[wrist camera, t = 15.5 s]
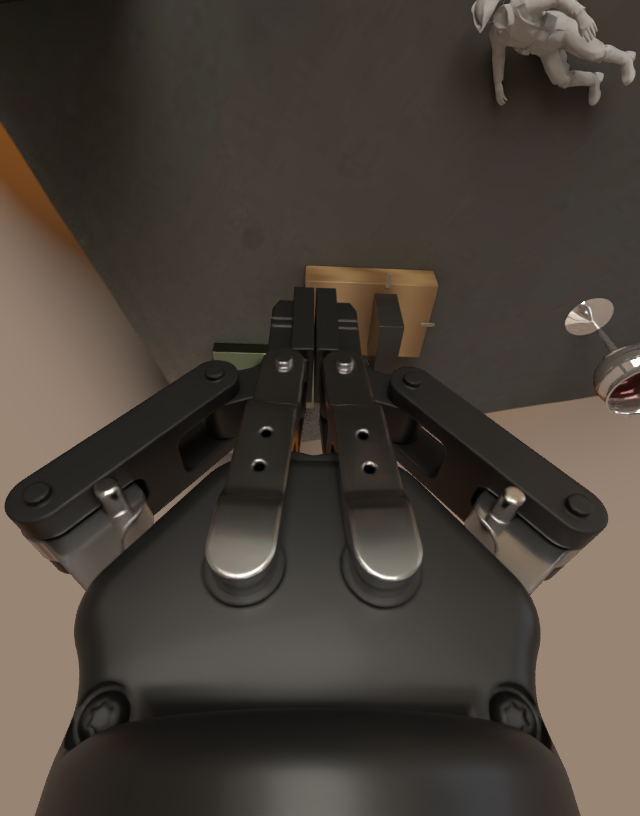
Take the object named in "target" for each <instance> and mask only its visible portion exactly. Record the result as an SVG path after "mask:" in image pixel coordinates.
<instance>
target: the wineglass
mask: <svg viewBox="0 0 640 816" xmlns="http://www.w3.org/2000/svg"><path fill="white" fill-rule="evenodd" d="M613 311H614V308H613V304H612V303H611V302H610V301H609V300H607V299H604V298H595V299H590V300H587V301H585V302H583V303H581V304H579V305H578V306H577V307H575V308H574V309H573V310H572V311H571V312H570V313H569V315H568V317H567V318H566V322H565V327H566V330H567V331H568V332H569V333H571V334H574V335H586V334H590V333H592V332H595V331H596V332H597V334H598V335H599V337H600V338H601V340H602V341H603V343H604V344H605V346H606V348H607V349H608V351H609V352H610V353H608V354H607V355H606V356H605V357H604V358H603V359H602V360H601V362H600V363H599V365H598V366H597V368H596V369H595V371H594V375H593V384H594V388H595V391H596V394H597V395H598V396H599V397H600V398H601V399H602V400H603V401H604V402H605V404H606V408H607V410H608V411H609V412H610V413H612V414H614V415H618V416H627V417H631V416H637V415H640V344H633V345H626V346H622V347H619V348H617V347H616V346H615V345H614V344H613V343H612V341H611V340H610V339H609V338H608V337H607V336H606V334H605V333H604V332H603V331H602V330H601V329H600V328H601V327H603V326H604V325H605V324H606V323H607V322H608V321H609V320H610V318H611V317H612V314H613Z"/></svg>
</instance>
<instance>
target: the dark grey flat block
mask: <svg viewBox="0 0 640 816" xmlns="http://www.w3.org/2000/svg"><path fill="white" fill-rule="evenodd" d="M404 328H405V327H404V322H403V318H402V314H401V310H400V305H399V301H398V297H397V294H377V293H375V296H374V303H373V310H372V317H371V324H370V330H369V337H368V344H367V354H368V362H369V367H370V368H372V369H373V370H375V371H378V372H381V373H384V374H388V375H391V374H392V373H393V372H394V371H395V370H396V365H397V360H398V356H399V351H400V346H401V342H402V337H403V333H404Z"/></svg>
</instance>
